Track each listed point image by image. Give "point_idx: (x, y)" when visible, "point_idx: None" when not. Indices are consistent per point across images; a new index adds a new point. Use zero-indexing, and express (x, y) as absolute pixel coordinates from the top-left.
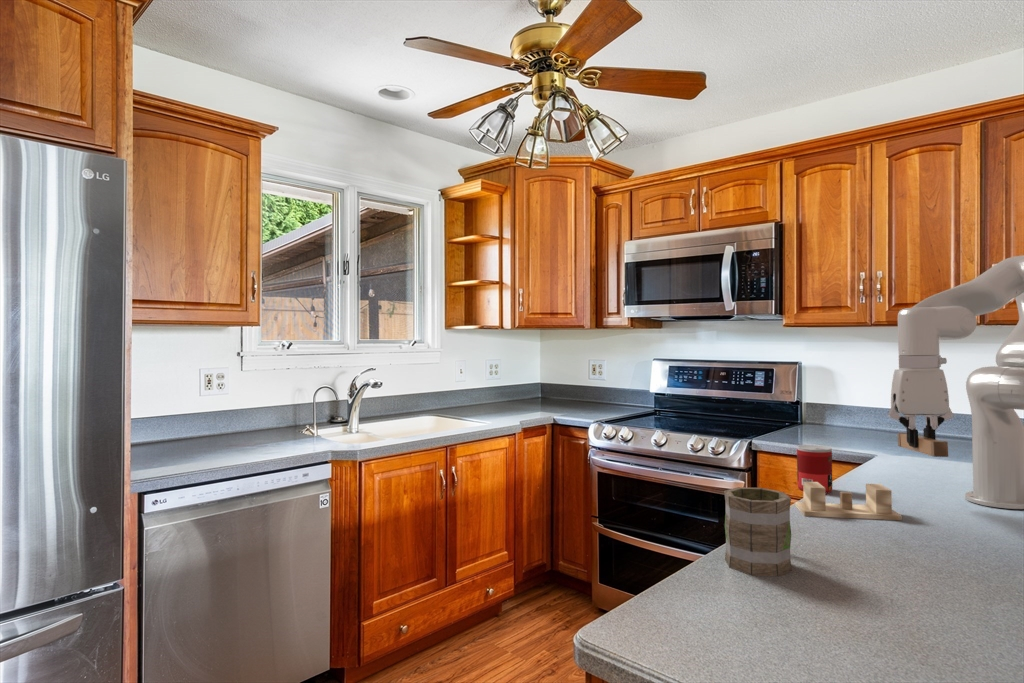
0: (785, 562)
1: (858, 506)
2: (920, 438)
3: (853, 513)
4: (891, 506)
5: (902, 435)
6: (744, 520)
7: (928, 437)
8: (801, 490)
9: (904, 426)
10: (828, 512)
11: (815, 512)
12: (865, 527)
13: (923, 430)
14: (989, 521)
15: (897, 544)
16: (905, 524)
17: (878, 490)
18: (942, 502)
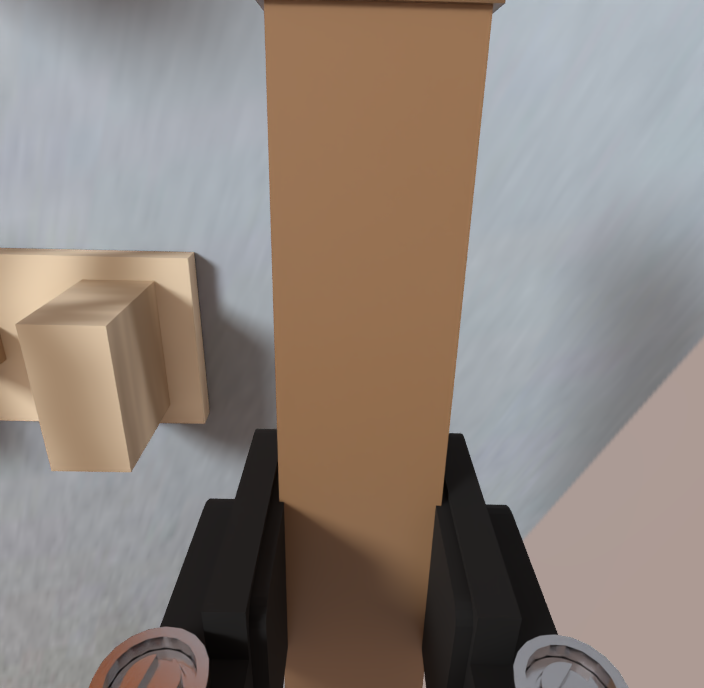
0: None
1: (41, 297)
2: (298, 674)
3: (6, 420)
4: (158, 422)
5: (270, 137)
6: None
7: (424, 628)
8: None
9: (112, 664)
10: None
11: None
12: (49, 513)
13: (451, 583)
14: (570, 375)
15: (117, 645)
16: (206, 460)
17: (65, 469)
18: (587, 7)
